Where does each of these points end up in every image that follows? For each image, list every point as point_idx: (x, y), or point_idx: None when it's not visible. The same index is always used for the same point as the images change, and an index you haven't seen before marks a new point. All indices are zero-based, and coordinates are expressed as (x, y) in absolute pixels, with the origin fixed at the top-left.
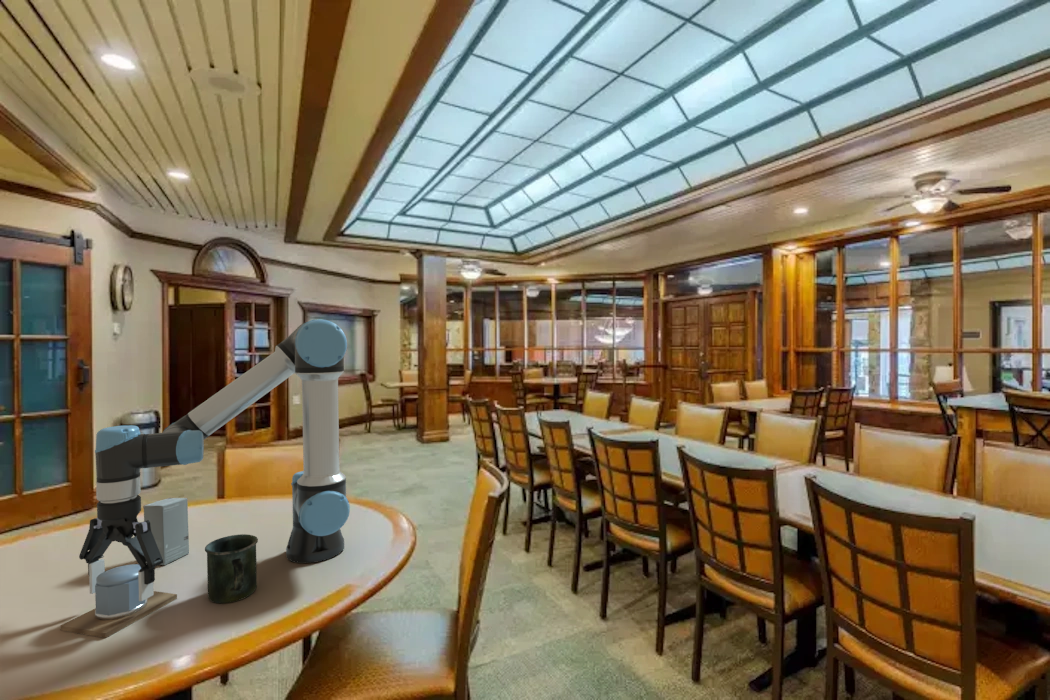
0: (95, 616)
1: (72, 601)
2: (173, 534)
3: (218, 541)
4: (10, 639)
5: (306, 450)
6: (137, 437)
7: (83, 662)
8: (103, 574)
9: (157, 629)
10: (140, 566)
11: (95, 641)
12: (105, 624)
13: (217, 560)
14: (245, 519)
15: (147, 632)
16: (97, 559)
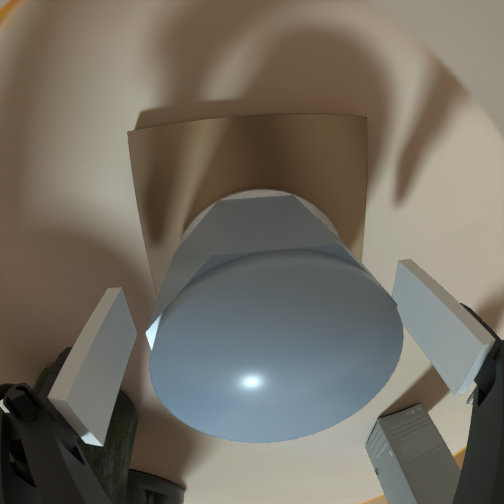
0: (296, 194)
1: (463, 256)
2: (392, 476)
3: None
4: (436, 60)
5: None
6: None
7: (69, 37)
8: (379, 333)
9: (46, 234)
10: (47, 423)
11: (147, 104)
12: (196, 170)
13: None
14: (358, 489)
15: (52, 211)
16: (480, 380)
